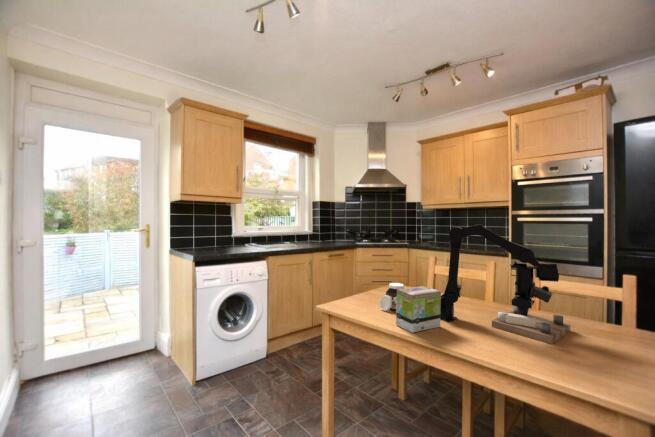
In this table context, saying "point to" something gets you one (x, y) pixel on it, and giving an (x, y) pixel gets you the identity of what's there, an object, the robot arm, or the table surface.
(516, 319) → the white rectangular block
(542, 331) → the slatted wooden base
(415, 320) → the tea box
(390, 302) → the spread jar
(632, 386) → the table surface
